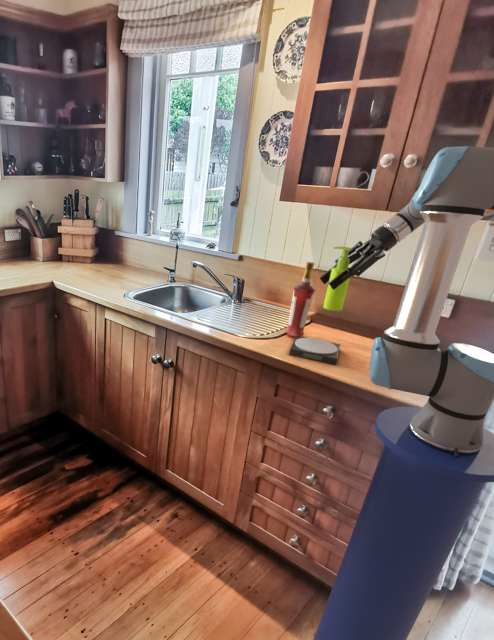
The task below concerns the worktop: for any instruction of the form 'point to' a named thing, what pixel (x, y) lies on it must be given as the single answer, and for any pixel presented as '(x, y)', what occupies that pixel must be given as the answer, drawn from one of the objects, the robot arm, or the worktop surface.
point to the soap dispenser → (337, 296)
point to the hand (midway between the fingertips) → (326, 283)
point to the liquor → (301, 304)
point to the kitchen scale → (315, 349)
